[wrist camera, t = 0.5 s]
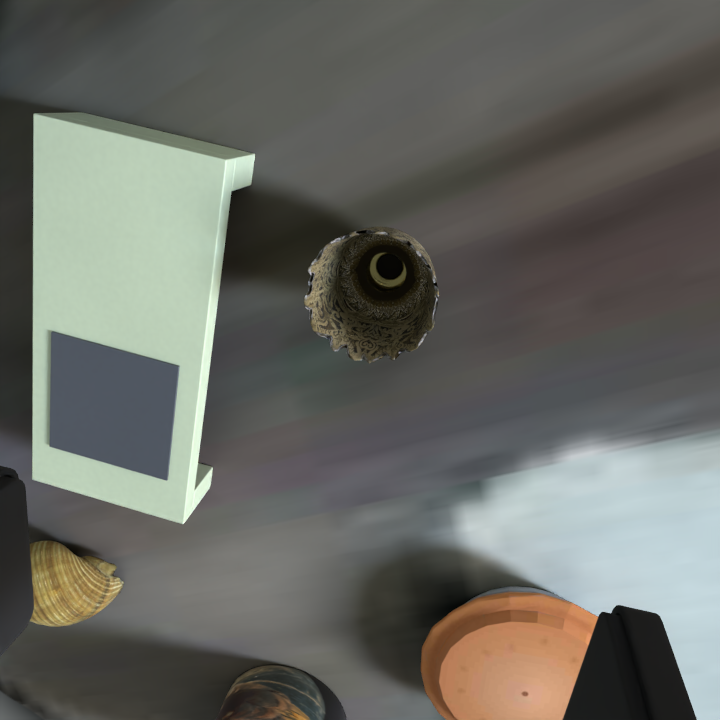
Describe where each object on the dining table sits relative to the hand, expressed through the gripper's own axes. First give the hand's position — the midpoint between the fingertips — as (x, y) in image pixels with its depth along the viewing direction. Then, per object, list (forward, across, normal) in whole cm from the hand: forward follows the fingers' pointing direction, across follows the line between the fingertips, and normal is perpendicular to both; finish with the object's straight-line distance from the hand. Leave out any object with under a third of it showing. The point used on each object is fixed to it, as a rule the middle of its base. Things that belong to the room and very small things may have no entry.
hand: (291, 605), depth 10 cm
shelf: (+34, +19, +9) cm, 40 cm away
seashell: (+34, +26, +34) cm, 55 cm away
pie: (+34, -12, +31) cm, 47 cm away
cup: (+34, +3, +2) cm, 34 cm away
